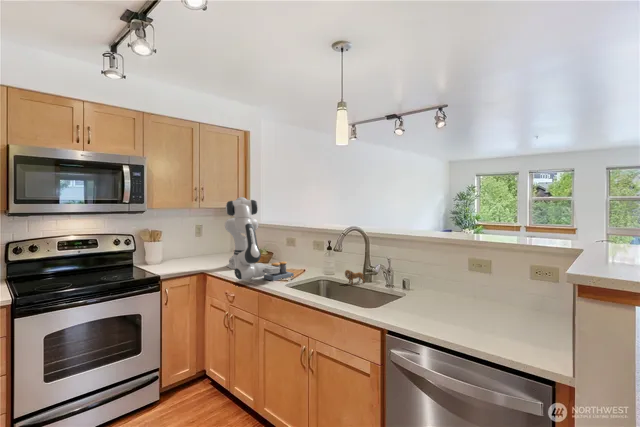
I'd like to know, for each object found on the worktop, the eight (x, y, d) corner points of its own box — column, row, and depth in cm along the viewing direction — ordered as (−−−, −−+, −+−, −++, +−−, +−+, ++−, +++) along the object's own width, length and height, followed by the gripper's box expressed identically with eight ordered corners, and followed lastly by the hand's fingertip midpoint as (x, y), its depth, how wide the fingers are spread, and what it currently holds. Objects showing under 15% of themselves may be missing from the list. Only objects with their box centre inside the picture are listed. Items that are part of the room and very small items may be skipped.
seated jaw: (277, 276, 227) (276, 262, 226) (283, 275, 231) (283, 261, 230) (282, 278, 223) (282, 263, 222) (288, 276, 227) (288, 262, 226)
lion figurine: (346, 285, 202) (346, 270, 201) (343, 283, 207) (342, 269, 206) (367, 282, 207) (367, 268, 207) (363, 281, 212) (363, 267, 212)
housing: (263, 278, 222) (263, 274, 222) (283, 274, 234) (283, 270, 234) (273, 280, 214) (273, 277, 214) (293, 276, 226) (293, 273, 226)
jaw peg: (269, 277, 222) (269, 263, 221) (276, 276, 226) (276, 262, 225) (274, 279, 218) (274, 264, 217) (281, 278, 222) (281, 263, 221)
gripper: (268, 267, 205) (285, 264, 215) (250, 263, 220) (267, 260, 230) (268, 277, 206) (286, 273, 215) (250, 272, 220) (267, 269, 230)
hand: (276, 266), depth 223 cm, fingers open, 6 cm apart
